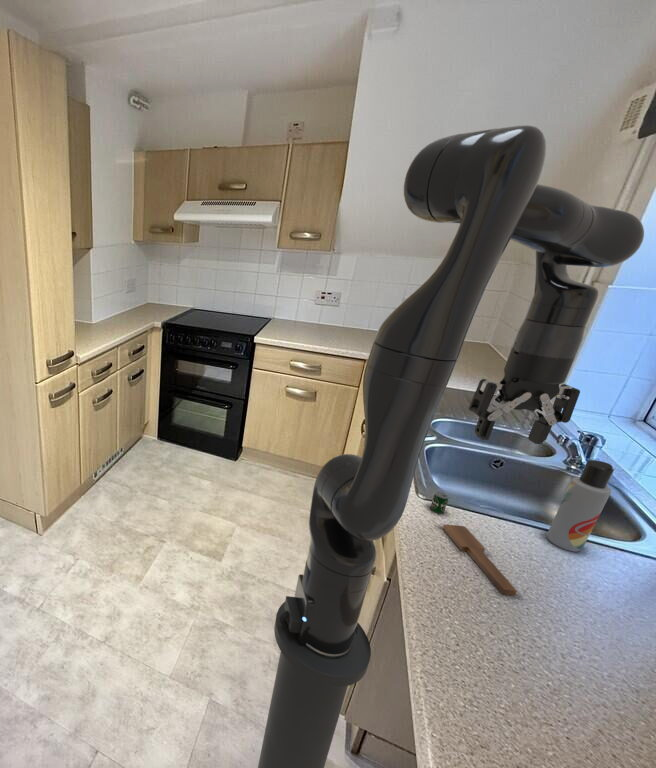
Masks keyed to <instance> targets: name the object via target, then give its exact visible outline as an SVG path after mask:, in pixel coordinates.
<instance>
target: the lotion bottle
mask: <svg viewBox="0 0 656 768" xmlns="http://www.w3.org/2000/svg"><path fill="white" fill-rule="evenodd" d="M614 471H615V469H614V467H613V465H612V464H610V463H608V462H605V461H603V460H595V459H589V460H588V461H586V464H585V466H584V468H583V470H582V472H581V474H580V476H575V477H573V478H572V479H571V481H570V483H569V485H568V487H567V489H566V492H565V494H564V496H563V498H562V500H561V502H560V504H559V507H558V509H557V511H556V513H555V516H554V517H553V520H552V522H551V524H550V527H549V528H548V531H547V532H546V533H547V534H546V538H547V540H548V541H549V542H550V543H552V544H553V545H555V547H558V548H561V549H563V550H566V551H569V552H575V553H576V552H581V551H582V550H583V548H584V547H585V546H586V544H587V541H588V539H589V537H590V536H591V533H592V531H593V529H594V528H595V526H596V524H597V521H598V519H599V517H600V515H601V513H602V511H603V509H604V507H605V505H606V504H607V502H608V500H609V497H610V495H611V493H612V489H611V488H610V487H609V486H608V484H609V481H610V479H611V478H612V476H613V473H614Z"/></svg>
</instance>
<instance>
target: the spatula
mask: <svg viewBox="0 0 656 768" xmlns="http://www.w3.org/2000/svg"><path fill="white" fill-rule="evenodd" d="M442 529H443V531H444V532H445V533H446V534H447V536H448V537H449V538H450V539H451V541H452V542H453V543H454V544H455V546H456V547H457V548H458V549H459V551H461V552H466V553H467V554H468V555H469V557H470V558H471V559H472V560H473V561H474V562H475V564H476V565H477V566H478V567H479V569H480V570H481V571H482V572H483V573H484V574H485V576H486V577H487V578H488V579H489V581H490V582H491V583H492V585H494V586H495V588H496V589H497V590H498V592H500V594H501V595H507V596H516V594H517V592H518V591H517V589H516V588H515V587H514V586H513V585H512V583H511V582H510V581H509V579H507V578H506V577H505V575H504V574H503V573H502V572H501V571H500V569H498V567H497V566H496V565H495V564H494V563H493V562H492V561H491V559H489V557H488V556H487V555H486V554H485V553H484V551H485V549H486V548H485V547H484V546H483V545H482V544H481V542H479V540H478V539H477V538H476V537H475V535H473V534H472V532H470V530H469V529H468V528H467V527H466V526H465V525H455V524H443V526H442Z"/></svg>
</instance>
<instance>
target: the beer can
mask: <svg viewBox="0 0 656 768" xmlns="http://www.w3.org/2000/svg"><path fill="white" fill-rule="evenodd" d="M448 501H449V495H448V494H447V493H445V492H442V491H436V492H435V493H434V495H433V497H432V500H431V503H430V510H431V511H432V512H434V513H436V514H445V511H446V507H447V505H448Z"/></svg>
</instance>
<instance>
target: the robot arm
mask: <svg viewBox="0 0 656 768" xmlns="http://www.w3.org/2000/svg"><path fill="white" fill-rule="evenodd" d="M546 141H547V140H546V138H545V136H544V132H543V131H542V130H541V129H540V128H538V127H537V126H534V125H529V124H528V125H513V126H505V127H500V128H491V129H490V128H489V129H483V130H477V131H471V132H464V133H457V134H452V135H448V136H445V137H441V138H438V139H436V140H434V141H432V142H430V143H428V144H427V145H425V146H424V147H423V148H422V149H421V150H420V151H419V152H418V153H417V154H416V155H415V157H414V158H413V160H412V161H411V163H410V164H409V167H408V169H407V171H406V174H405V178H404V183H403V197H404V202H405V204H406V207H407V209H408V210H409V211H410V213H411V214H412V215H413V216H415V217H416V218H418V219H420V220H423V221H427V222H431V223H439V224H459V225H458V228H457V231H456V233H455V235H454V238H453V240H452V242H451V244H450V246H449V248H448V249H447V252H446V253H445V256H444V257H443V259H442V261H441V262H440V264H439V265H438V266H437V268H436V269H435V271H433V273H432V274H431V275H430V276H429V277H428V278H427V280H425V281H424V282H423V283H422V284H421V285H420V286H419V287H418V288H417V289H416V290H415V291H414V292H413V293H412V294H410V295H409V296H408V297H407V298H406V299H405V300H403V301H402V302H400V304H398V306H397V307H396V308H395V309H394V310H393V311H392V312H391V313H390V314H389V315H388V316H386V318H384V320H383V321H382V323H381V325H379V327H378V329H377V332H376V334H375V337H374V340H373V342H372V346H371V349H370V352H369V354H368V357H367V361H366V364H365V368H364V372H363V378H362V400H363V401H362V402H363V415H364V425H365V431H364V432H365V434H364V435H365V437H364V447H363V450H362V454H361V456H360V455H357V454H352V453H344V454H339V455H336V456H334V457H332V458H330V459H329V460H328V461H326V463H324V465H322V467H321V468H320V470H319V472H318V474H317V476H316V478H315V481H314V485H313V490H312V495H311V503H310V510H309V516H308V530H309V534H310V541H309V545H308V551H307V556H306V560H305V566H304V570H303V574H300V573H299V575H298V577H297V581H296V586H295V592H294V596H289V595H286V596H285V600H284V602H285V605H284V608H285V612H284V613H282V614H281V615H280V618H279V620H280V623H281V624H282V626H283V627H284V628H287V627H288V626H289V631H290V632H294V633H295V634H296V639H297V643H298V645H299V646H304V647H306V648H308V649H309V650H310V651H312V652H313V653H315V654H317V655H319V656H322V657H325V658H331V659H337V658H342V657H344V656H346V655H347V654H348V653H349V652H350V650H351V647H352V643H353V638H354V634H355V631H356V634H357V630H358V627H357V623H359V620H360V615H361V613H362V609H363V605H364V601H365V597H366V594H367V590H368V587H369V583H370V580H371V576H372V574H373V570H374V566H375V561H376V560H377V549H376V545H375V542H374V541H377V540H380V539H381V538H384V537H385V536H386V535H388V534H389V533H390V532H392V530H393V529H394V528H395V527H396V526H397V524H398V523H399V521H400V520H401V519H402V516H403V514H404V512H405V509H406V506H407V503H408V500H409V496H410V491H411V488H412V485H413V481H414V477H415V473H416V469H417V465H418V463H419V462H418V461H419V458H420V454H421V452H422V449H423V446H424V443H425V441H426V438H427V435H428V434H429V433H428V432H429V429H430V427H431V425H432V422H433V419H434V416H435V413H436V411H437V409H438V406H439V403H440V401H441V399H442V397H443V395H444V393H445V391H446V388H447V386H448V384H449V381H450V379H451V376H452V374H453V371H454V369H455V366H456V364H457V362H458V359H459V357H460V354H461V351H462V349H463V345H464V342H465V340H466V337H467V334H468V332H469V329H470V326H471V324H472V321H473V319H474V317H475V314H476V312H477V309H478V308H479V304H480V302H481V300H482V298H483V295H484V293H485V291H486V289H487V286H488V284H489V282H490V281H491V278H492V276H493V274H494V272H495V270H496V268H497V266H498V264H499V262H500V261H501V258H502V256H503V255H504V252H505V250H506V249H507V247H508V245H509V243H510V241H512V242H514V243H517V244H520V245H522V246H524V247H526V248H528V249H531V250H534V251H535V256H534V257H535V258H534V259H535V271H534V272H535V274H534V287H533V294H532V297H531V300H530V303H529V305H528V308H527V310H526V313H525V316H524V320H523V321H522V323H521V325H520V326H519V328H518V331H517V332H516V335H515V337H514V340H513V343H512V346H511V348H510V352H509V354H508V357H507V360H506V363H505V365H504V368H503V373H504V375H503V378H502V379H501V380H500V381H490V380H489V379H487V378H482V379H480V380H479V382H478V385H477V386H476V389H475V392H474V395H473V397H472V399H471V401H470V403H469V406H468V410H469V411H470V412H472V413H473V414H475V415H476V416H478V419H477V423H476V425H475V428H474V434H475V435H476V437H478V438H479V439H480V440H482V441H488V440H490V437H491V434H492V432H493V429H494V427H495V424H496V421H495V420H496V419H497V418H499V417H500V416H501V415H503V414H508V413H510V412H511V411H512V410H517V411H521V410H527V411H531V412H534V413H535V416H536V418H537V419H534V422H533V423H532V427H531V430H530V431H529V434H528V437H527V439H528V441H530V442H532V443H533V444H535V445H542V444H543V443H544V442H545V441H546V440H547V439H548V437H549V435H550V432H551V430H552V427H553V426H555V425H556V424H558V423H564V424H566V423H569V422H570V420H571V418H572V415H573V413H574V411H575V407H576V404H577V402H578V399H579V397H580V394H581V390H580V389H579V388H576V387H573V386H571V385H569V384H567V383H565V382H566V380H567V378H568V375H569V373H570V370H571V369H572V365H573V363H574V361H575V358H576V357H577V354H578V352H579V349H580V347H581V345H582V342H583V339H584V333H585V331H586V327H587V324H588V322H589V320H590V317H591V314H592V313H593V310H594V308H595V306H596V303H597V301H598V298H599V289H598V288H597V287H595V286H593V285H590V284H588V283H583V282H581V281H578V280H574V279H572V278H571V276H570V275H569V273H568V272H569V271H568V266H575V267H576V266H577V267H587V268H609V267H614V266H617V265H619V264H621V263H624V262H626V261H627V260H629V259H630V258H632V257H633V256H634V255H635V254H636V253H637V251H638V250H639V249H640V248H641V245H642V244H643V241H644V237H645V229H644V225H643V223H642V221H641V220H640V218H638V217H637V216H636V215H634V214H633V213H630V212H627V211H625V210H620V209H615V208H610V207H607V206H606V207H605V206H598V205H593V204H589V203H588V202H586V201H585V200H583V199H581V198H579V196H576V195H574V194H573V193H571V192H569V191H567V190H564V189H561V188H557V187H553V186H549V185H544V184H539V181H540V178H541V176H542V175H541V174H542V172H543V169H544V164H545V161H546V155H547V154H546V153H547V146H546V145H547V143H546ZM553 399H554V401H553V403H552V402H551V400H553ZM502 402H503V404H502ZM286 618H287V622H288V624H287V622H286V621H285V619H286Z"/></svg>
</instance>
